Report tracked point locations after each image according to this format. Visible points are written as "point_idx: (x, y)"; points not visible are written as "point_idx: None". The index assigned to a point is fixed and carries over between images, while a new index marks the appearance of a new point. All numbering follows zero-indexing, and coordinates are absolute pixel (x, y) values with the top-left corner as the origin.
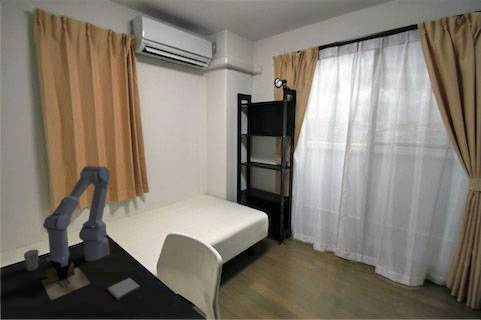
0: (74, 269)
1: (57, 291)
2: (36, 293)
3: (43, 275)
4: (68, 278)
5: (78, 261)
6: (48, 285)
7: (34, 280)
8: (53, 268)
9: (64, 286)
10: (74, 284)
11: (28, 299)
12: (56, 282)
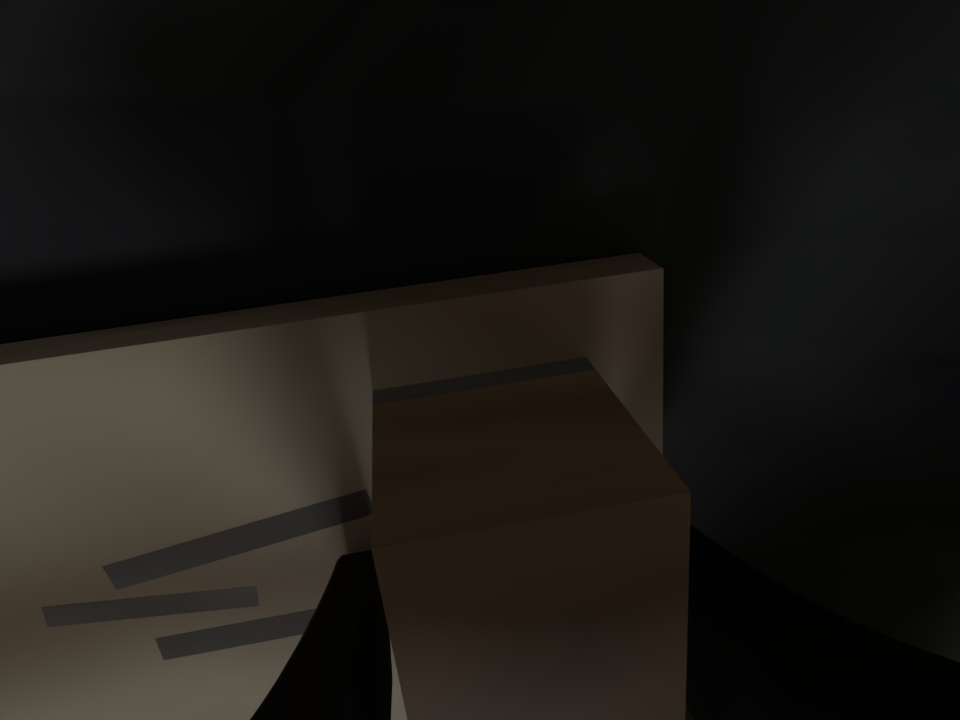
0: None
1: (10, 500)
2: (330, 168)
3: (913, 284)
4: None
5: None
6: (367, 374)
7: (868, 149)
8: (616, 628)
9: (131, 589)
10: (99, 705)
11: (185, 28)
12: None
